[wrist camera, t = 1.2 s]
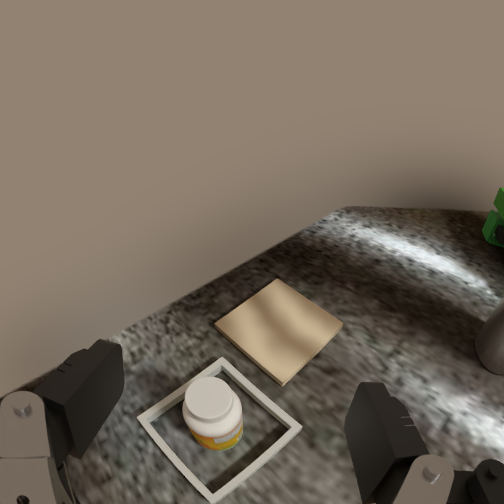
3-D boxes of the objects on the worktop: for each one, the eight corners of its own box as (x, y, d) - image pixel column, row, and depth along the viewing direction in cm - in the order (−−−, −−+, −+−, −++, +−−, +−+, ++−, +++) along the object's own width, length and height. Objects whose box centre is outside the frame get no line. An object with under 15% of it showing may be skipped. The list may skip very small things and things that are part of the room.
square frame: (223, 362, 36) (222, 356, 35) (300, 430, 30) (302, 426, 29) (140, 421, 30) (136, 417, 29) (213, 504, 23) (212, 504, 22)
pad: (277, 283, 47) (277, 278, 46) (341, 327, 40) (343, 323, 40) (215, 327, 40) (214, 323, 40) (282, 386, 34) (283, 382, 33)
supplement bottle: (185, 420, 30) (165, 383, 24) (228, 400, 32) (221, 359, 26) (207, 460, 27) (192, 436, 20) (252, 438, 29) (253, 408, 23)
